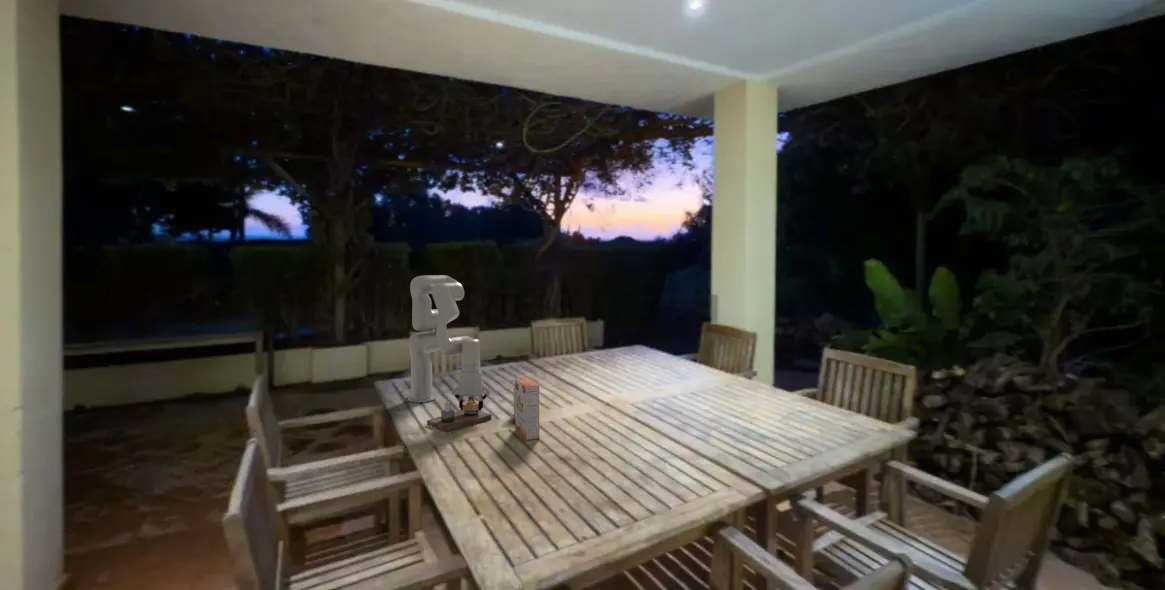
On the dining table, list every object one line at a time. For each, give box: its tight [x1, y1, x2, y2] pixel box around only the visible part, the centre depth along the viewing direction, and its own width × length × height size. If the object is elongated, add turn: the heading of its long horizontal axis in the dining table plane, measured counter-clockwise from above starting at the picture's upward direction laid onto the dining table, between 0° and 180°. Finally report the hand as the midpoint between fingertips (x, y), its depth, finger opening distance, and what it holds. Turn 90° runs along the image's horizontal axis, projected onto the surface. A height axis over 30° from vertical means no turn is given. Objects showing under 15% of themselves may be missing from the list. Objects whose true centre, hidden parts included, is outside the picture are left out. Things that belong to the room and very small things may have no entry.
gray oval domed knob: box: [440, 401, 455, 423], centre depth 213 cm, size 5×5×8 cm
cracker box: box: [514, 377, 540, 441], centre depth 204 cm, size 14×6×21 cm, turn 23°
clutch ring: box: [462, 400, 480, 411], centre depth 223 cm, size 7×7×2 cm
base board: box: [426, 410, 492, 434], centre depth 218 cm, size 14×22×2 cm, turn 141°
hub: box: [464, 396, 479, 416], centre depth 223 cm, size 6×6×8 cm
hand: (471, 409), depth 223 cm, fingers closed on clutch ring, 7 cm apart
